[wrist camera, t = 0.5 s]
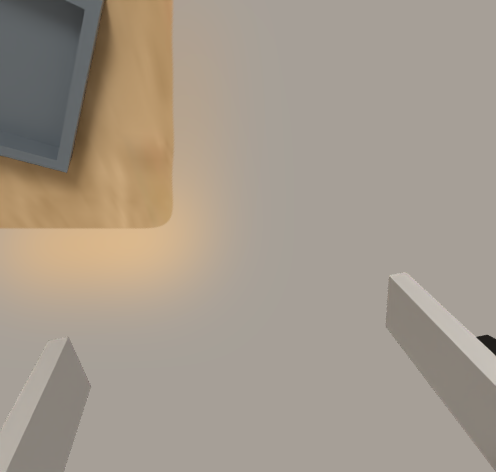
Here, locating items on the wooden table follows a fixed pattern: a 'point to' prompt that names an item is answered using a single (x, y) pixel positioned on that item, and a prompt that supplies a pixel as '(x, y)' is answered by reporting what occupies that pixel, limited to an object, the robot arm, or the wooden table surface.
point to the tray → (44, 76)
